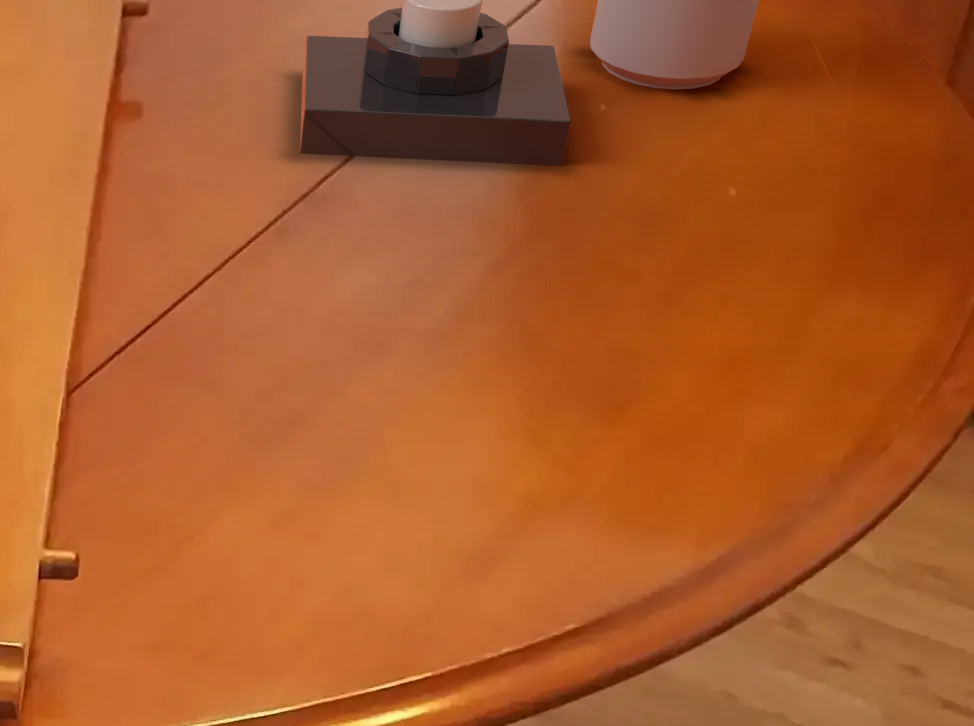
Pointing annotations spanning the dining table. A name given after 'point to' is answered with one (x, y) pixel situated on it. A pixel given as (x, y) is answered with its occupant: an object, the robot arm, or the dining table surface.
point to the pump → (440, 22)
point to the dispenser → (433, 97)
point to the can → (672, 40)
